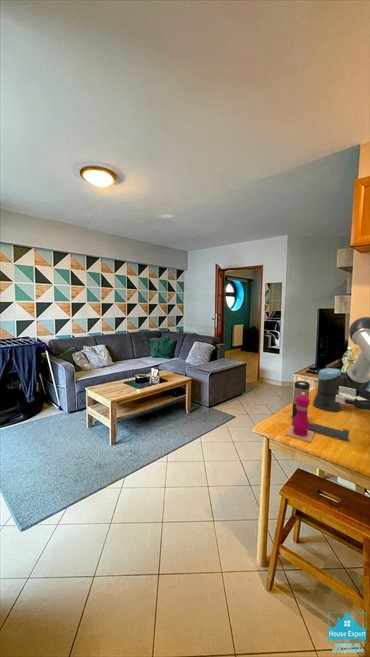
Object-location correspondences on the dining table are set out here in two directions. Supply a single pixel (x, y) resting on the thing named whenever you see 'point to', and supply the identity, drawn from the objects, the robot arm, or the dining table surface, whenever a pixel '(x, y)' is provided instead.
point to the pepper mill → (301, 415)
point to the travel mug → (299, 393)
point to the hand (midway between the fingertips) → (337, 393)
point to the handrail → (328, 431)
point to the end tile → (305, 438)
